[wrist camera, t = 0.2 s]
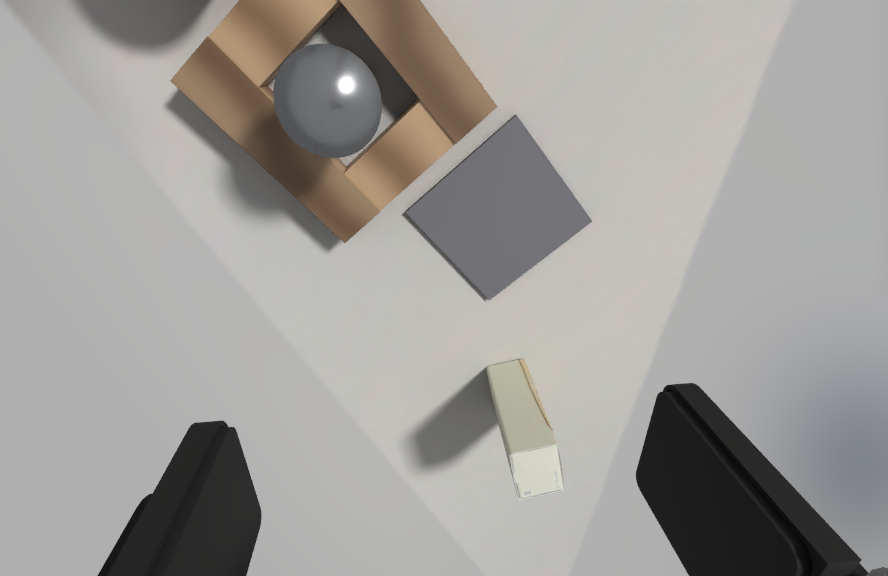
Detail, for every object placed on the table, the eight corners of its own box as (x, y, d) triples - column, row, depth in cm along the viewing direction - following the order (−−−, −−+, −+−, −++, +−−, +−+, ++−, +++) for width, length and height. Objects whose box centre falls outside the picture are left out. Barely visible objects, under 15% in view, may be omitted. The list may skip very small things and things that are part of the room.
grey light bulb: (343, 26, 31) (325, 16, 23) (400, 96, 34) (403, 109, 25) (286, 86, 33) (250, 98, 24) (346, 148, 35) (331, 178, 27)
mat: (515, 114, 35) (516, 115, 35) (590, 220, 40) (592, 221, 40) (405, 211, 38) (405, 212, 38) (488, 298, 43) (489, 300, 43)
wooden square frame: (340, -102, 28) (335, -116, 26) (490, 103, 35) (497, 106, 32) (186, 78, 32) (169, 80, 30) (347, 231, 38) (344, 243, 36)
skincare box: (530, 398, 50) (566, 492, 39) (492, 407, 50) (518, 503, 39) (523, 355, 47) (561, 444, 36) (483, 364, 47) (509, 456, 36)
